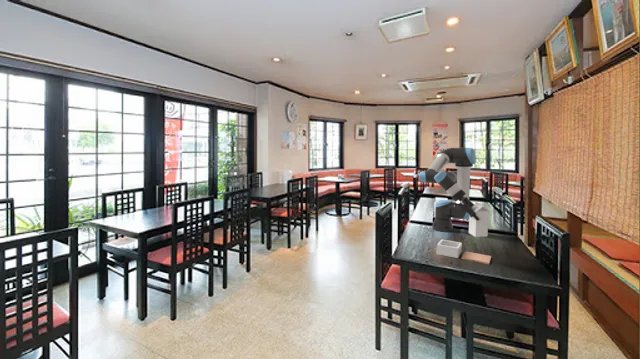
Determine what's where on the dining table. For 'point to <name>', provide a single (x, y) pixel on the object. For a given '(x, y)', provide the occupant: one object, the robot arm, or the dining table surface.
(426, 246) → the dining table surface
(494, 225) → the dining table surface
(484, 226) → the milk carton
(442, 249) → the white open box
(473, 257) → the terracotta tile
